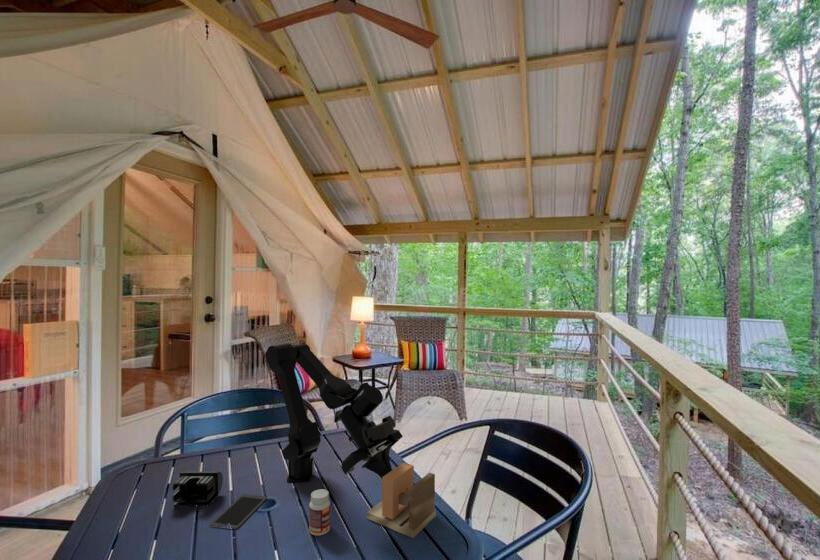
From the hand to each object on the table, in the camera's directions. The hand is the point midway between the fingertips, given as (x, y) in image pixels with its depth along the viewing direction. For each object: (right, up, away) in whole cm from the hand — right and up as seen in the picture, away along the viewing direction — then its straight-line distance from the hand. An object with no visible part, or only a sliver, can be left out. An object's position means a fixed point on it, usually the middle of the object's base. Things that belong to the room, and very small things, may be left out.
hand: (392, 480), depth 100 cm
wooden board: (+1, -6, -1) cm, 7 cm away
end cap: (-51, -8, +6) cm, 52 cm away
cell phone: (-38, -9, +1) cm, 39 cm away
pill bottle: (-16, -8, -6) cm, 19 cm away
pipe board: (+2, -8, -1) cm, 9 cm away
